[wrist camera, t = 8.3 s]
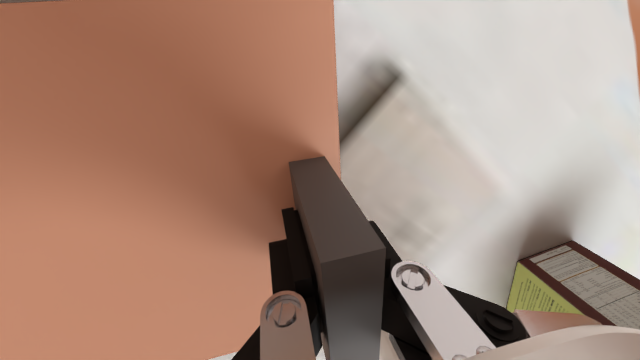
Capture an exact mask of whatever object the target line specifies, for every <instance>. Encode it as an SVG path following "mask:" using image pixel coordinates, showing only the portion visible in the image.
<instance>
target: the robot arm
mask: <svg viewBox="0 0 640 360" xmlns="http://www.w3.org/2000/svg"><path fill="white" fill-rule="evenodd" d="M281 211H282V216H283V222H284V228H285V233H286V239H284V240H279V241H274V242H270V243H269V256H270V268H271V280H272V292H273V295H272V296H271V297H269V298H268V299H267V301H266V302H265V303H264V305H263V307H262V309H261V314H260V326H259V327H258V328H257V329H256V331H255V332H254V333H253V334H252V335H251V337H250V338H249V339H248V340H247V341H246V343H245V344H244V345H243V346H242V348H241V349H240V350H239V351H238V352H237V354H236V355H235V356H234V357H233V359H232V360H316V356H317V354H318V353H319V351H320V349H321V347H322V339H321V333H323V329H322V320H321V311H320V303H319V294H318V286H317V279H316V273H315V269H314V266H313V262H312V259H311V255H310V251H309V248H308V244H307V241H306V237H305V234H304V230H303V226H302V223H301V219H300V216H299V212H298V210H294V207H291V208H286V209H281ZM368 222H369V223H370V225H371V226H372V228H373V229H374V231H375V232H376V234H377V235H378V237H379V238H380V240H381V241H382V243H383V244H384V246H385V247H386V257H385V274H384V290H383V306H382V323H381V339H380V355H379V360H640V330H639V329H634V328H627V327H619V326H608V325H603V324H601V323H599V322H598V321H596V320H594V319H592V318H590V317H587V316H585V315H580V314H574V313H560V312H545V311H531V310H517V309H515V310H514V312H513V313H512V312H510V311H508V310H507V309H505V308H503V307H501V306H499V305H497V304H494V303H491V302H489V301H486V300H483V299H480V298H478V297H475V296H472V295H469V294H467V293H464V292H461V291H458V290H456V289H453V288H450V287H447V286H445V285H443V284H442V283H441V282H440V281H439V279H438V278H437V277H436V276H435V275H434V274H433V272H432V271H431V270H430V269H429V268H427V267H426V266H424V265H423V264H421V263H418V262H415V261H402V260H401V259H400V257H399V256H398V254H397V253H396V252H395V250H394V249H393V247H392V246H391V244H390V243H389V242H388V240H387V239H386V237H385V236H384V235H383V233H382V232H381V230H380V229H379V227H378V226H377V225H376V223H375V222H374V221H368Z"/></svg>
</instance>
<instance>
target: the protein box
mask: <svg viewBox="0 0 640 360" xmlns="http://www.w3.org/2000/svg"><path fill="white" fill-rule="evenodd" d="M506 309H507V310H508V311H510V312H512V313H513V312H514V310H515V309H517V310H531V311H545V312H560V313H574V314H580V315H585V316H587V317H590V318H592V319H594V320H596V321H598V322H599V323H601V324H603V325H608V326H619V327H627V328H634V329H639V330H640V280H639V279H637V278H636V277H634V276H632V275H630V274H629V273H627V272H625V271H624V270H622V269H620V268H619V267H617V266H615V265H614V264H612V263H610V262H609V261H607V260H605V259H604V258H602V257H600V256H598V255H597V254H595V253H593V252H592V251H590V250H588V249H587V248H585V247H583V246H582V245H580V244H578V243H577V242H575V241H570V242H568V243H565V244H562V245H560V246H557V247H554V248H552V249H549V250H546V251H544V252H541V253H539V254H536V255H533V256H531V257H528V258H525V259H523V260H520V261H518V263H517V267H516V271H515V275H514V279H513V283H512V287H511V291H510V295H509V300H508V304H507V308H506Z"/></svg>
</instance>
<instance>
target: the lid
mask: <svg viewBox="0 0 640 360" xmlns="http://www.w3.org/2000/svg"><path fill="white" fill-rule="evenodd" d="M291 207H294V210H298V212H299V216H300V219H301V223H302V226H303V230H304V234H305V237H306V241H307V244H308V248H309V251H310V255H311V259H312V262H313V266H314V269H315V273H316V279H317V286H318V294H319V303H320V311H321V320H322V329H323V333H321V339H322V345H323V349H324V353H325V357H326V360H379V355H380V339H381V323H382V306H383V290H384V274H385V257H386V247H385V246H384V244H383V243H382V241H381V240H380V238H379V237H378V235H377V234H376V232H375V231H374V229H373V228H372V226H371V225H370V223H369V222H368V220H367V219H366V217H365V216H364V214H363V213H362V211H361V210H360V208H359V207H358V205H357V204H356V202H355V201H354V199H353V198H352V196H351V195H350V193H349V192H348V190H347V189H346V187H345V186H344V184H343V183H342V181H341V172H340V148H339V124H338V100H337V77H336V53H335V29H334V5H333V0H63V1H42V2H21V3H1V4H0V360H208V359H211V358H215V357H219V356H222V355H226V354H230V353H233V352H237V351H239V350H240V349H241V348H242V346H243V345H244V344H245V343H246V341H247V340H248V339H249V338H250V337H251V335H252V334H253V333H254V332H255V331H256V329H257V328H258V327H259V326H260V314H261V309H262V307H263V305H264V303H265V302H266V301H267V299H268V298H269V297H271V296H272V295H273V292H272V280H271V268H270V256H269V243H270V242H274V241H279V240H284V239H286V233H285V228H284V222H283V216H282V211H281V209H286V208H291Z"/></svg>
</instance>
